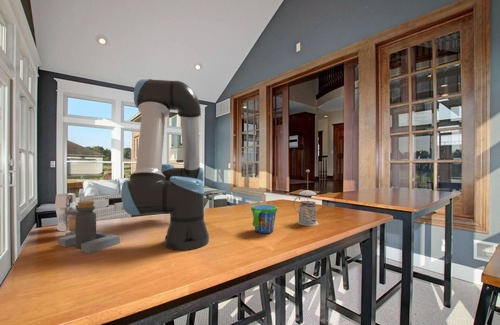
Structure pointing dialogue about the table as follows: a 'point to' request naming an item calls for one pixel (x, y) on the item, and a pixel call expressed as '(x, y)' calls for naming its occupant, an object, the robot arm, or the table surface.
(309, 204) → the french press
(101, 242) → the notch board
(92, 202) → the bottle
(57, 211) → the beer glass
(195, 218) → the robot arm
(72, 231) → the bobbin
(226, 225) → the table surface
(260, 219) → the snack cup
